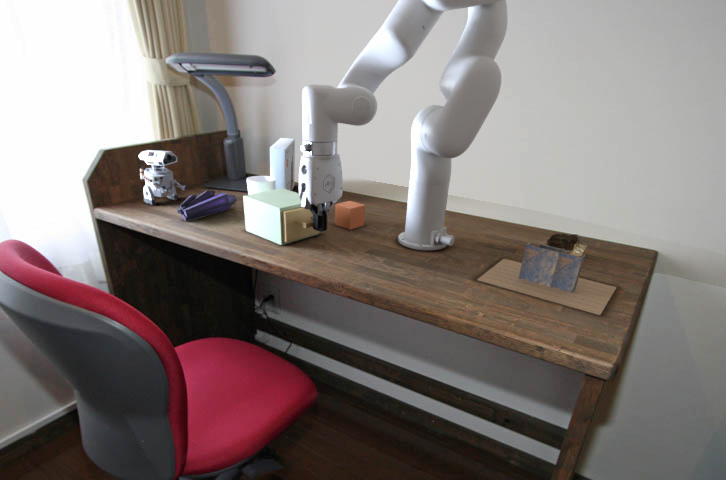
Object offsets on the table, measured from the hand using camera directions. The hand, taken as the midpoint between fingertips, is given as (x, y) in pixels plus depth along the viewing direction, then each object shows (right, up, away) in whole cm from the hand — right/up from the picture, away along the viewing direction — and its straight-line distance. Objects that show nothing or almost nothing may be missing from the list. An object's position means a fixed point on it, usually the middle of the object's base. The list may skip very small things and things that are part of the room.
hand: (320, 229), depth 113 cm
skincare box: (-15, +22, +45) cm, 53 cm away
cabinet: (-11, +2, +11) cm, 15 cm away
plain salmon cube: (+7, +5, +18) cm, 20 cm away
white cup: (-18, +9, +24) cm, 31 cm away
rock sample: (+61, -4, +6) cm, 62 cm away
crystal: (-33, +9, +22) cm, 41 cm away
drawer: (-8, +1, +8) cm, 11 cm away
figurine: (-49, +15, +30) cm, 59 cm away
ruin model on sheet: (+49, -14, -11) cm, 53 cm away
